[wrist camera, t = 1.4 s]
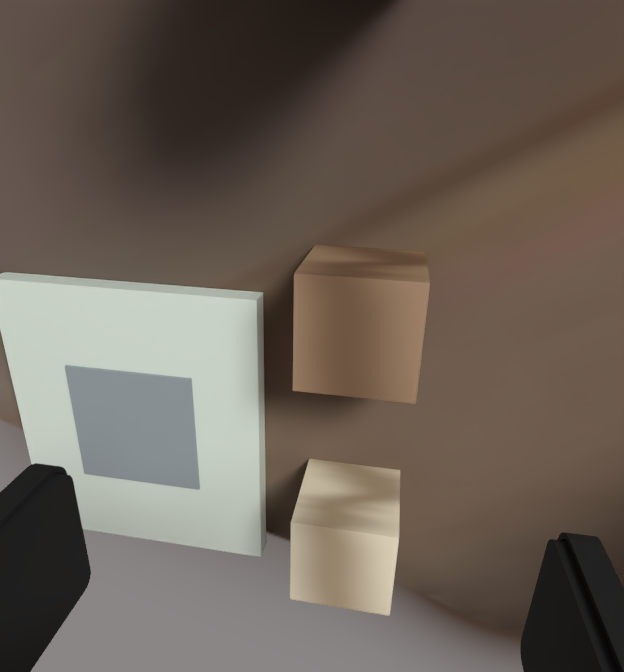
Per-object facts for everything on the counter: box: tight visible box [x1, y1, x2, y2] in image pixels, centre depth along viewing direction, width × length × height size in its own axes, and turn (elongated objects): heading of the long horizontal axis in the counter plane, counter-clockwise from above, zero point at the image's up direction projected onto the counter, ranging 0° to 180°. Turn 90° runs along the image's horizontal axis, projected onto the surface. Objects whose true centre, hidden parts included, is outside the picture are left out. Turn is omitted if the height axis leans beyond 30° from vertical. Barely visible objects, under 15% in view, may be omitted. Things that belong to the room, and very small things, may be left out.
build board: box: [0, 272, 266, 557], centre depth 28 cm, size 14×16×1 cm
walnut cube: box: [293, 245, 430, 404], centre depth 22 cm, size 5×5×5 cm
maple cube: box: [290, 459, 400, 616], centre depth 27 cm, size 5×5×5 cm
